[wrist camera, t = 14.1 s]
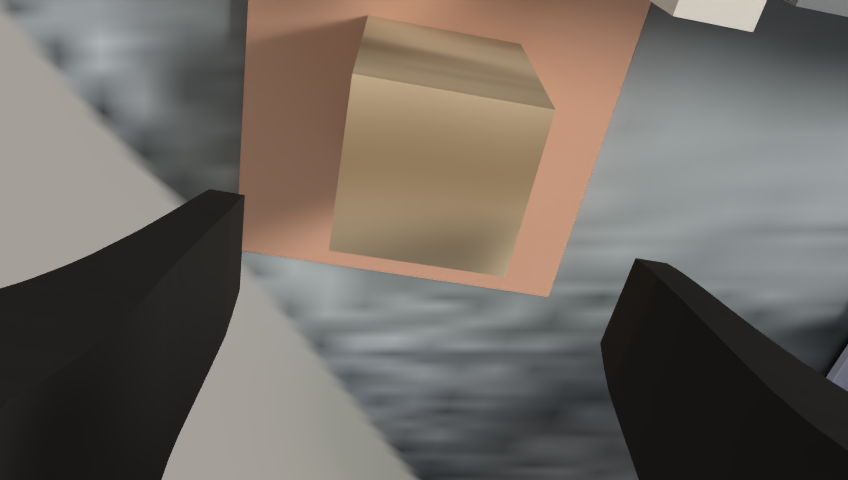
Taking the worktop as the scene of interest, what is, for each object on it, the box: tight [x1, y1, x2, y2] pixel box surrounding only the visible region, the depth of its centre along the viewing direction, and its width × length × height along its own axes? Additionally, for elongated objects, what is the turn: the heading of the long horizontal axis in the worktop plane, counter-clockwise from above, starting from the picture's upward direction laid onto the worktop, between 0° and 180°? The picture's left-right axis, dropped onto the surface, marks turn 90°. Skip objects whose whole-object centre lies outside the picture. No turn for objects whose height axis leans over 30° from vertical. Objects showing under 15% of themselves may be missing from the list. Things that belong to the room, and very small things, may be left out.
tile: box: [238, 0, 651, 297], centre depth 19 cm, size 10×10×1 cm
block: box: [329, 15, 556, 277], centre depth 16 cm, size 4×4×5 cm
